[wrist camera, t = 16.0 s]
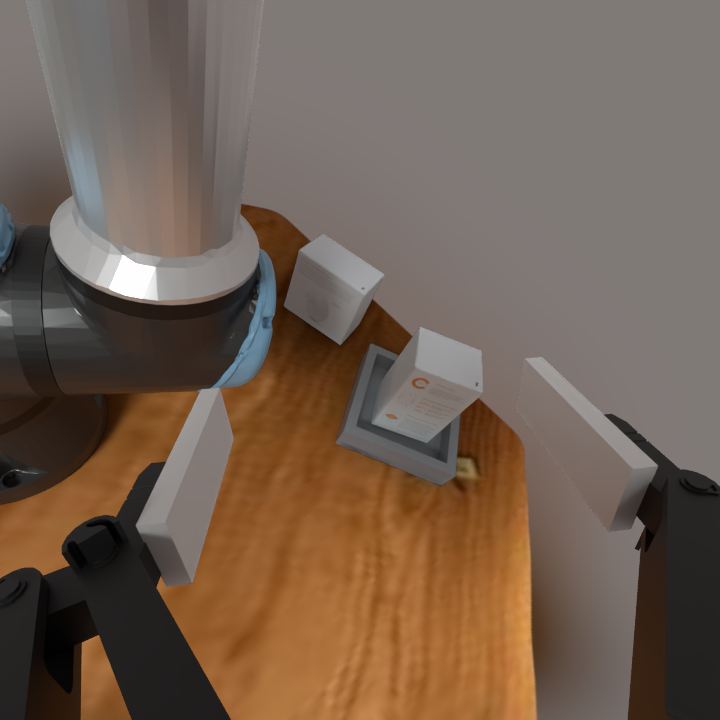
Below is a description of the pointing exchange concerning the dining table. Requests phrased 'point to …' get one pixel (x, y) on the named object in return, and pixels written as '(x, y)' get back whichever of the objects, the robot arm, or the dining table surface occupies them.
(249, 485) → the dining table surface
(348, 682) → the dining table surface
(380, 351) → the tray
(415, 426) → the small box
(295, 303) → the skincare box
